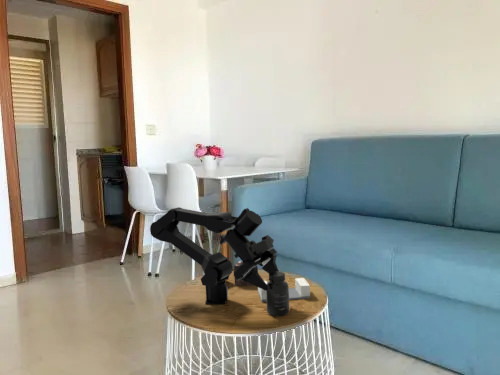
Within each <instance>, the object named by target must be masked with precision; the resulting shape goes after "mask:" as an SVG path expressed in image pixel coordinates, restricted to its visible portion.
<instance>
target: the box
mask: <svg viewBox="0 0 500 375" xmlns="http://www.w3.org/2000/svg"><path fill="white" fill-rule="evenodd" d="M242 262H243V261H242V260H241V261H237V262H235V264H234V265H233V272H234V271H235V269H236V268H237V267H238V266H239V265H240V264H241V263H242ZM233 277H234V276H233ZM241 279H242V278H241ZM241 279H240V280H237V279H236V278H235V277H234V286H249V287H250V286H252V284H250V283H247V282H245V281H241Z"/></svg>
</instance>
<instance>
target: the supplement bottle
mask: <svg viewBox="0 0 500 375" xmlns="http://www.w3.org/2000/svg"><path fill="white" fill-rule="evenodd" d="M266 285H267V286H268V290H266V302H265V303H266V313H267V314H268V315H270V316H272V317H283V316H284V317H285V316H286V315H288V314H290V300H289V288H290V287H289V283H288V282H287V281H286V274H285V272H283V271H280V270H279V271H276V272H271V273H268V281H267V284H266Z"/></svg>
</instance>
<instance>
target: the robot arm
mask: <svg viewBox="0 0 500 375" xmlns="http://www.w3.org/2000/svg"><path fill="white" fill-rule="evenodd" d="M180 222H181V223H188V224H191V225H197V226H201V227H204V228H205V229H207V231H210V232H213V233H214V234H221V233H223V232H226V233H225V234H222V235H219V238H220V240H219V245H224V244H225V243H226V244H227V245H228V246H229V247H230V248H231V249H232V251H233V252H234V255H233V256H234V258H236V259H237V258H239V259H240V260H241V261H243V262H242V263H241V264H240V265H239V266H238V267H237V268H236V269H235V271H234V270H233V263H232V262H231V260H229V257H227V256H225V255H224V254H222V253H221V252H220V251H217V252H215V253H214V254H213V253H210V252H208V251H207V250H206V249H204V248H203V247H202V246H200V245H198V244H197V243H196V242H194V241H193V240H192V239H191V238H188V237H187V236H186V235H184V233H181V231H180V229H179V227H178V225H180ZM262 223H263V220H262V217H261V216H260V215H259V214H258V213H256V212H255V211H253V210H251V209H249V207H247V208H244V209H243V210H242V211H241V213H240V214H239V215H238V216H234V215H232V214H231V213H230V212H227V211H222V212H220V211H219V212H203V211H198V210H197V211H196V210H192V209H187V208H183V207H174V208H171V209H169V210H168V211H167V212H165V214H164V215H162V216H160V217H159V218H158V219H157V220H156V221H153V222H152V223H151V224H150V227H149V232H150V235H151V236H152V238H154V239H155V240H158V241H161V242H165V243H168V244H171V245H172V246H174V247H175V248H176V249H177V250H179V251H180V252H182V253H183V254H184V255H186V256H187V257H188V258H190V259H192V260H193V261H194V262H196V263H197V264H198V265H200V266H201V269H202V272H203V271H204V273H205V275H204V276H203V275H202V277H201V278H200V282H201V285H202V286H204V287H205V302H204V303H205V305H219V304H220V305H222V304H223V305H225V304H226V303H227V301H228V299H229V287H228V284H227V283H226V281H227V280H229V278H230V276H231V274H232V273H233V277H235V278H236V279H237V280H240V279H241V278H242V279H241V281H245V282H247V283H250V284H251V286H255V287H257V288H258V287H259V288H261V289H263V290H265V291H266V290H268V286H267V285H266V283H265V282H264V281H265V280H264V279H263V278H262V277H261V274H260V273H259V270H258V266H260V267H261V270H263V271H264V272H266V273H267V274H269V273H271V272H276V271H279V272H280V270H279V269H278V266H277V262H276V260H277V257H278V256H277V254H278V252H277V250H275V248H274V247H275V246H274V241H275V240H274V239H273V238H272V237H271V236H269V234H266V235H264V236H262V237H261V241H258V242H256V241H254V240H251V241H250V239H248V238H247V237H251V236H252V235H253V233H255V231H256V230H257V229H258V228H259V227H260V226H261V225H262ZM235 278H234V279H235Z"/></svg>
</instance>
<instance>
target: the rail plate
mask: <svg viewBox="0 0 500 375" xmlns="http://www.w3.org/2000/svg"><path fill="white" fill-rule="evenodd" d="M263 281H264V282H265V283H266V284H267V283H268V281H267V280H263ZM294 281H295V282H294V283H295V285H294V287H289V301H293V300H304V299H306V300H307V299H311V286H310V284H309V282H308V281H307V280H306V279H305V277H297V278H294ZM257 293H258V296H259V298H260V301H261V303H266V291H265V290H263V289H261V288H259V287H257Z"/></svg>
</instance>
